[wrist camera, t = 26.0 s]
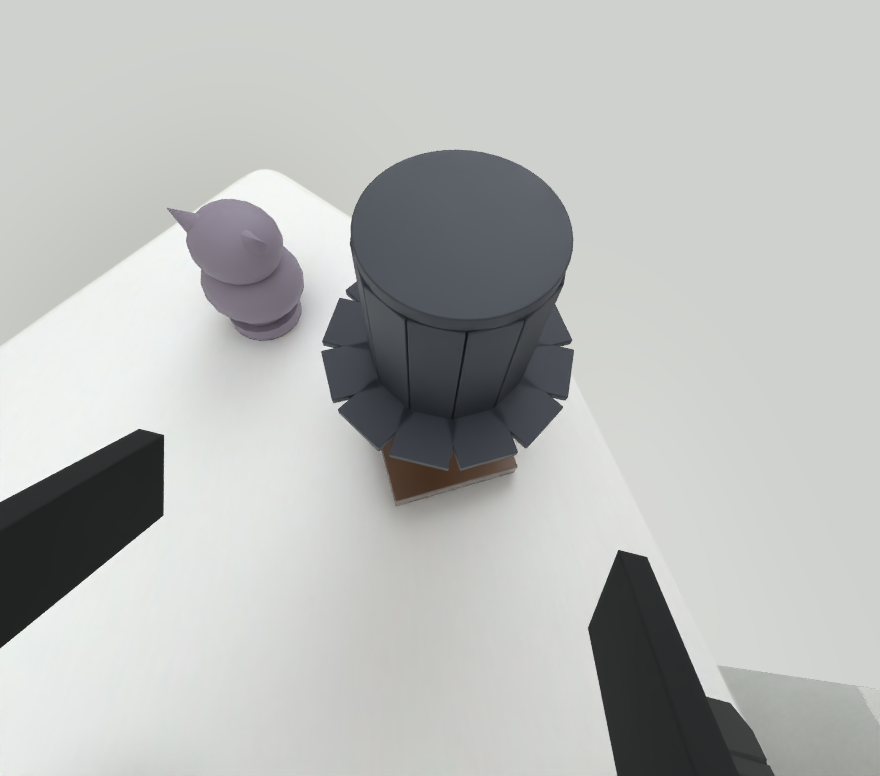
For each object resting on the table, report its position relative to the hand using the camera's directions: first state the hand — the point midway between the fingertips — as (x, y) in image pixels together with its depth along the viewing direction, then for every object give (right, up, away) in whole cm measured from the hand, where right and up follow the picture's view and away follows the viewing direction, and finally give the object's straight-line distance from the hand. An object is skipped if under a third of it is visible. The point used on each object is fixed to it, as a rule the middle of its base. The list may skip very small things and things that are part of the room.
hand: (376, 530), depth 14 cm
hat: (+2, +6, +15) cm, 16 cm away
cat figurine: (-14, +11, +32) cm, 37 cm away
